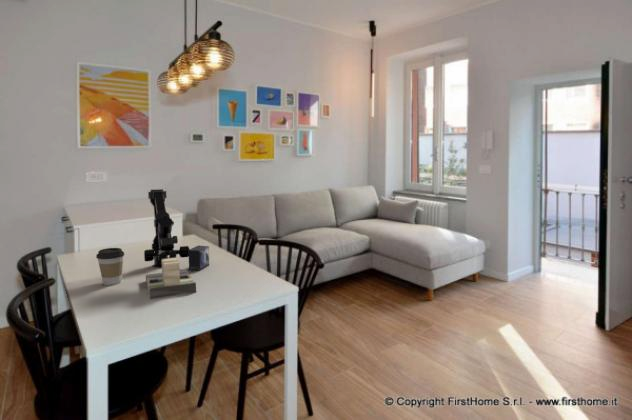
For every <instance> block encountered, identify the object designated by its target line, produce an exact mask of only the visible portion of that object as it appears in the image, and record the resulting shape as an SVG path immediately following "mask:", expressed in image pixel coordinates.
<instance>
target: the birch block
mask: <svg viewBox="0 0 632 420" xmlns="http://www.w3.org/2000/svg"><path fill="white" fill-rule="evenodd" d="M161 273H162V278H163V284H164V286H172V285H179V284H180V262H179V260H178V258H177V256H176V257H175V258H166V259H162V267H161Z"/></svg>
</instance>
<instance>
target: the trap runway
mask: <svg viewBox="0 0 632 420" xmlns="http://www.w3.org/2000/svg"><path fill="white" fill-rule="evenodd" d="M179 270H180V269H179ZM145 283H146V284H145V285H146V286H147V287H146V288H147V292H148V295H149V296H148V297H149V299H150V300H151V299H159V298H166V297H171V296H179V295H185V294H187V295H188V294H193V293H197V282H196V281H194V280H193V278H192V277H191V275H190V273H189V270H187V269H183V270H180V284H179V285H172V286H164V284H163V278H162V272H157V273H150V274H149V273H148V274H145Z"/></svg>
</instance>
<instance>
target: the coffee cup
mask: <svg viewBox="0 0 632 420" xmlns="http://www.w3.org/2000/svg"><path fill="white" fill-rule="evenodd" d="M124 256H125V252H124V251H123V249H122V248H120V247H108V248H102V249H99V250H98V252H97V254H96V256H95V257H96V259H97V261H98V266H99V271H100V274H101V281H102V283H103V285H104V286H113V285H114V286H115V285H118V284H120V283H122V279H123V278H122V277H123V264H124V263H123V262H124Z"/></svg>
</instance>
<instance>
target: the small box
mask: <svg viewBox="0 0 632 420" xmlns="http://www.w3.org/2000/svg"><path fill="white" fill-rule="evenodd" d="M189 249H190V252H189V256H188V271H197V272H199V271H202V270H204V269H205V268H207V267H209V266H210V246H209V245H196V246H194V247H192V248H189Z"/></svg>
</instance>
